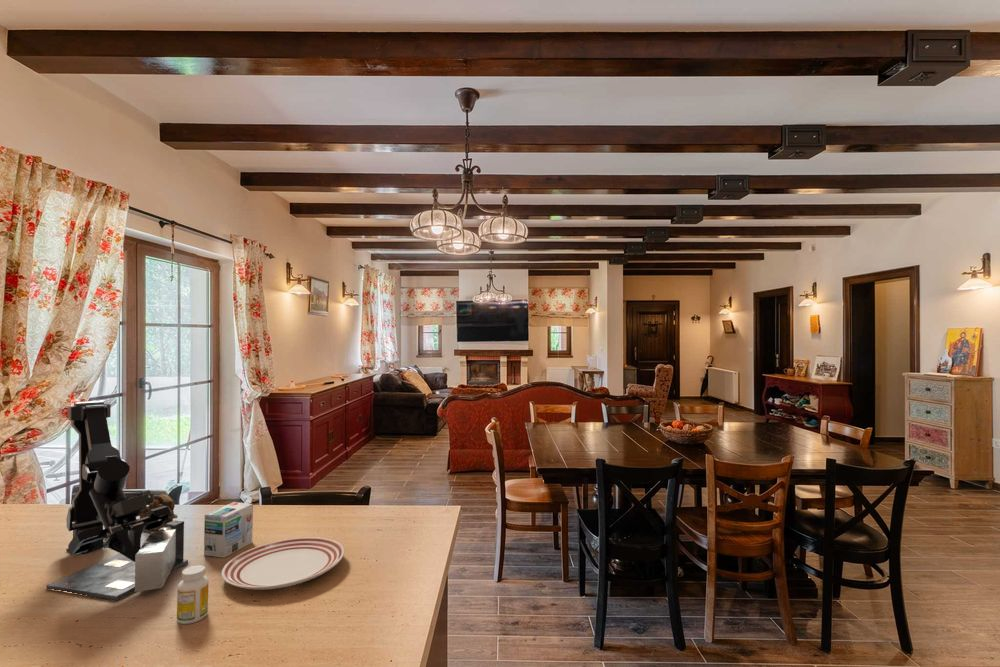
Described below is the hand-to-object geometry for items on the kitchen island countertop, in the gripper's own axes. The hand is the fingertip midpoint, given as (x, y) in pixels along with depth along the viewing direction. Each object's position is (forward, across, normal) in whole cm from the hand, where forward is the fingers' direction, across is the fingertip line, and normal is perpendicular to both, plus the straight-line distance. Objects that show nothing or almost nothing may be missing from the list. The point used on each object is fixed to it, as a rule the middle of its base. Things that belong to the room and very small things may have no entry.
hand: (137, 560), depth 108 cm
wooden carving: (-18, +23, +29) cm, 41 cm away
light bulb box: (+4, +24, +6) cm, 25 cm away
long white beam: (+3, +5, +4) cm, 7 cm away
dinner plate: (+20, +21, -11) cm, 32 cm away
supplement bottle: (+20, -1, -11) cm, 23 cm away
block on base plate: (-3, +2, +12) cm, 13 cm away
